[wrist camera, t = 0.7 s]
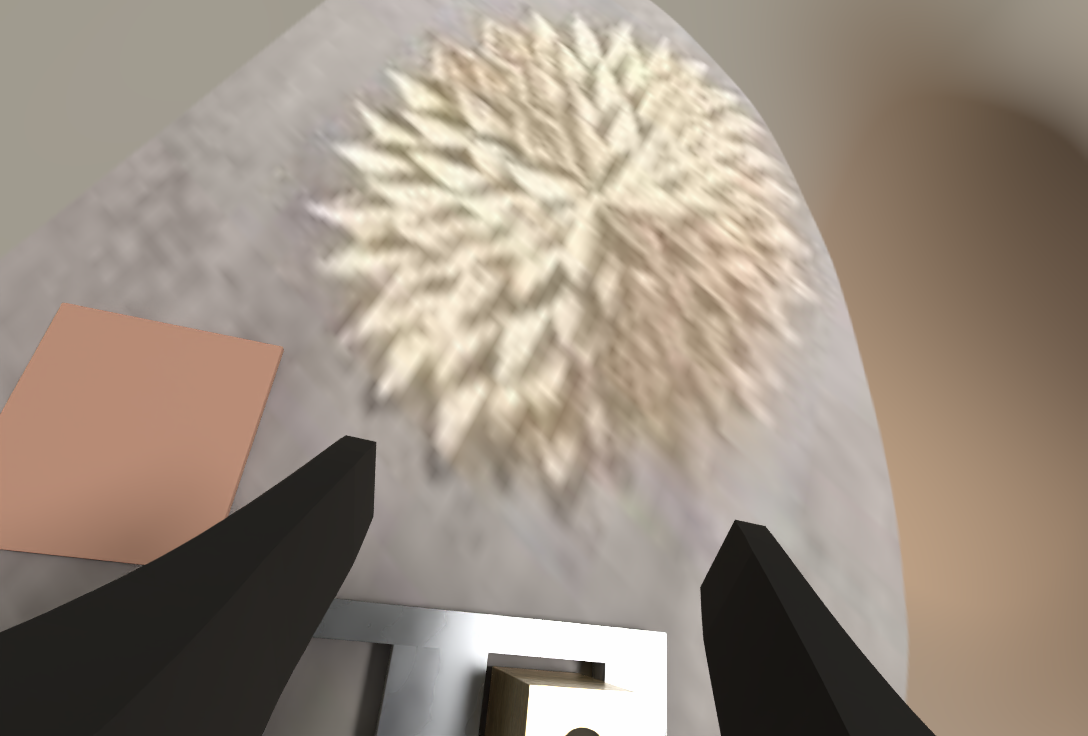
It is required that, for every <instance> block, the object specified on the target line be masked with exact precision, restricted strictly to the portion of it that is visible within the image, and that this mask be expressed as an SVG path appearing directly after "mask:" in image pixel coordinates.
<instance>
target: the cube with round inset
mask: <svg viewBox="0 0 1088 736" xmlns="http://www.w3.org/2000/svg"><path fill="white" fill-rule="evenodd" d="M638 722H639V693H637V692H634V691H631V690H628V689H625V688H622V687H619V686H616V685H613V684H610V683H607V682H604V681H601V680H598V679H595V678H592V677H589V676H586V675H583V674H580V673H570V672H557V671H545V670H533V669H520V668H508V667H495V666H493V667H492V676H491V684H490V693H489V701H488V710H487V718H486V727H485V735H484V736H638Z"/></svg>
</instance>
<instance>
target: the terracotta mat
mask: <svg viewBox="0 0 1088 736" xmlns="http://www.w3.org/2000/svg"><path fill="white" fill-rule="evenodd" d="M283 351H284V349H283V347H281V346H276V345H271V344H266V343H261V342H256V341H251V340H246V339H241V338H237V337H232V336H227V335H222V334H217V333H212V332H207V331H202V330H197V329H192V328H187V327H182V326H177V325H172V324H167V323H162V322H157V321H152V320H147V319H142V318H137V317H132V316H127V315H122V314H117V313H113V312H108V311H103V310H98V309H93V308H88V307H83V306H78V305H73V304H68V303H62V304H61V306H60V308H59V310H58V311H57V313H56V315H55V317H54V319H53V320H52V322H51V324H50V326H49V328H48V329H47V331H46V333H45V335H44V337H43V338H42V340H41V342H40V344H39V346H38V347H37V349H36V351H35V353H34V355H33V356H32V358H31V360H30V362H29V364H28V365H27V367H26V369H25V371H24V373H23V374H22V376H21V378H20V380H19V382H18V383H17V385H16V387H15V389H14V391H13V392H12V394H11V396H10V398H9V399H8V401H7V403H6V405H5V407H4V408H3V410H2V412H1V414H0V549H3V550H12V551H21V552H30V553H39V554H49V555H58V556H67V557H76V558H86V559H95V560H104V561H113V562H122V563H132V564H141V565H146V564H148V563H149V562H151V561H153V560H155V559H157V558H159V557H161V556H163V555H164V554H166V553H168V552H170V551H171V550H173V549H175V548H177V547H179V546H180V545H182V544H184V543H185V542H187V541H189V540H191V539H192V538H194V537H196V536H198V535H199V534H201V533H203V532H204V531H206V530H207V529H209V528H211V527H212V526H214V525H215V524H217V523H219V522H220V521H222V520H223V519H225V518H227V517H228V515H229V512H230V509H231V506H232V503H233V500H234V497H235V494H236V491H237V488H238V485H239V482H240V479H241V476H242V473H243V470H244V467H245V464H246V461H247V458H248V455H249V453H250V450H251V447H252V444H253V441H254V438H255V435H256V432H257V429H258V426H259V423H260V420H261V417H262V414H263V411H264V408H265V405H266V402H267V399H268V396H269V393H270V390H271V387H272V384H273V381H274V378H275V375H276V372H277V369H278V366H279V363H280V360H281V357H282V354H283Z"/></svg>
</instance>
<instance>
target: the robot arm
mask: <svg viewBox="0 0 1088 736" xmlns="http://www.w3.org/2000/svg"><path fill="white" fill-rule="evenodd" d="M375 462H376V442H374V441H370V440H365V439H360V438H356V437H351V436H347V435H346V436H344V437H343V438H341V439H339V440H338V441H337V442H335V443H334V444H332V445H331V446H330V447H328V448H327V449H326V450H324V451H323V452H321V453H320V454H319V455H317V456H316V457H315V458H313V459H312V460H310V461H309V462H308V463H306V464H305V465H304V466H302V467H301V468H299V469H298V470H297V471H295V472H294V473H292V474H291V475H290V476H288V477H287V478H285V479H284V480H282V481H281V482H280V483H278V484H277V485H275V486H274V487H272V488H271V489H269V490H268V491H266V492H265V493H263V494H262V495H261V496H259V497H258V498H256V499H255V500H253V501H252V502H250V503H249V504H247V505H246V506H244V507H243V508H241V509H239V510H238V511H236V512H235V513H233V514H231V515H230V516H228V517H227V518H225V519H223V520H222V521H220V522H219V523H217V524H215V525H214V526H212V527H211V528H209V529H207V530H206V531H204V532H203V533H201V534H199V535H198V536H196V537H194V538H192V539H191V540H189V541H187V542H185V543H184V544H182V545H180V546H179V547H177V548H175V549H173V550H171V551H170V552H168V553H166V554H164V555H163V556H161V557H159V558H157V559H155V560H153V561H151V562H149V563H148V564H146V565H144V566H142V567H140V568H138V569H136V570H134V571H133V572H131V573H129V574H127V575H125V576H123V577H121V578H119V579H117V580H115V581H113V582H110V583H108V584H106V585H104V586H102V587H100V588H98V589H96V590H94V591H92V592H89V593H87V594H85V595H83V596H81V597H79V598H77V599H74V600H72V601H70V602H68V603H66V604H64V605H62V606H60V607H57V608H55V609H53V610H51V611H49V612H47V613H45V614H42V615H40V616H38V617H36V618H33V619H31V620H29V621H26V622H24V623H21V624H19V625H17V626H14V627H12V628H10V629H7V630H5V631H3V632H0V736H262V734H263V732H264V730H265V727H266V725H267V723H268V721H269V719H270V716H271V714H272V712H273V710H274V708H275V705H276V703H277V701H278V699H279V697H280V695H281V693H282V691H283V689H284V687H285V685H286V684H287V682H288V680H289V678H290V676H291V674H292V672H293V670H294V668H295V667H296V665H297V663H298V661H299V660H300V658H301V656H302V654H303V653H304V651H305V649H306V647H307V646H308V644H309V642H310V640H311V638H312V637H313V635H314V633H315V631H316V630H317V628H318V626H319V624H320V623H321V621H322V619H323V617H324V616H325V614H326V612H327V610H328V609H329V607H330V605H331V603H332V601H333V600H334V598H335V596H336V594H337V593H338V591H339V589H340V587H341V585H342V584H343V582H344V580H345V578H346V576H347V575H348V573H349V571H350V569H351V567H352V566H353V564H354V561H355V559H356V557H357V555H358V552H359V550H360V548H361V545H362V543H363V541H364V538H365V536H366V533H367V531H368V528H369V526H370V523H371V521H372V519H373V513H374V488H375ZM700 590H701V612H702V626H703V640H704V645H705V651H706V657H707V663H708V668H709V674H710V679H711V685H712V690H713V695H714V701H715V706H716V711H717V717H718V722H719V727H720V733H721V736H935V735H934V733H933V732H932V731H931V730H930V729H929V728H928V727H927V726H926V725H925V724H924V723H923V722H922V721H921V720H920V718H919V717H918V716H917V715H916V714H915V713H914V712H913V711H912V710H911V709H910V708H909V706H908V705H907V704H906V703H905V702H904V701H903V700H902V699H901V697H900V696H899V695H898V694H897V693H896V692H895V691H894V689H893V688H892V687H891V686H890V685H889V684H888V682H887V681H886V680H885V679H884V678H883V676H882V675H881V674H880V673H879V672H878V671H877V669H876V668H875V667H874V666H873V665H872V663H871V662H870V661H869V660H868V659H867V658H866V656H865V655H864V654H863V653H862V651H861V650H860V649H859V648H858V647H857V645H856V644H855V643H854V642H853V640H852V639H851V638H850V637H849V635H848V634H847V633H846V632H845V630H844V629H843V628H842V627H841V625H840V624H839V623H838V621H837V620H836V619H835V618H834V616H833V615H832V614H831V612H830V611H829V610H828V608H827V607H826V606H825V605H824V603H823V602H822V601H821V599H820V598H819V597H818V595H817V594H816V593H815V591H814V590H813V589H812V587H811V586H810V585H809V583H808V582H807V581H806V579H805V578H804V577H803V575H802V574H801V573H800V571H799V570H798V569H797V567H796V566H795V565H794V563H793V562H792V560H791V559H790V558H789V556H788V555H787V554H786V552H785V551H784V550H783V548H782V547H781V546H780V544H779V543H778V542H777V540H776V539H775V538H774V537H773V535H772V534H771V533H770V531H769V530H768V529H767V528H766V526H762V525H757V524H753V523H748V522H743V521H739V520H735V521H734V523H733V525H732V527H731V528H730V530H729V532H728V534H727V536H726V538H725V540H724V542H723V544H722V546H721V548H720V550H719V552H718V554H717V556H716V558H715V560H714V562H713V564H712V566H711V567H710V569H709V571H708V573H707V575H706V577H705V579H704V581H703V583H702V585H701V587H700Z"/></svg>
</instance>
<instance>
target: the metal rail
mask: <svg viewBox="0 0 1088 736" xmlns="http://www.w3.org/2000/svg"><path fill="white" fill-rule="evenodd" d="M313 637H315V638H327V639H338V640H350V641H361V642H373V643H385V644H392V646H391V651H390V656H389V662H388V667H387V672H386V677H385V683H384V688H383V693H382V698H381V704H380V709H379V714H378V719H377V725H376V730H375V735H374V736H478V733H479V725H480V716H481V708H482V700H483V692H484V683H485V675H486V667H487V659H488V652H489V653H500V654H512V655H523V656H535V657H546V658H558V659H569V660H581V661H593V668H592V678H595V679H598V680H601V681H604V682H607V683H610V684H613V685H616V686H619V687H622V688H625V689H628V690H631V691H634V692H637V693H639V722H638V736H667V705H666V633H663V632H653V631H643V630H634V629H624V628H614V627H605V626H595V625H585V624H575V623H566V622H556V621H546V620H537V619H527V618H517V617H508V616H498V615H488V614H478V613H469V612H459V611H449V610H440V609H430V608H420V607H411V606H401V605H391V604H381V603H372V602H362V601H352V600H343V599H334V600H333V601H332V603H331V605H330V607H329V609H328V610H327V612H326V614H325V616H324V617H323V619H322V621H321V623H320V624H319V626H318V628H317V630H316V631H315V633H314V635H313Z"/></svg>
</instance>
